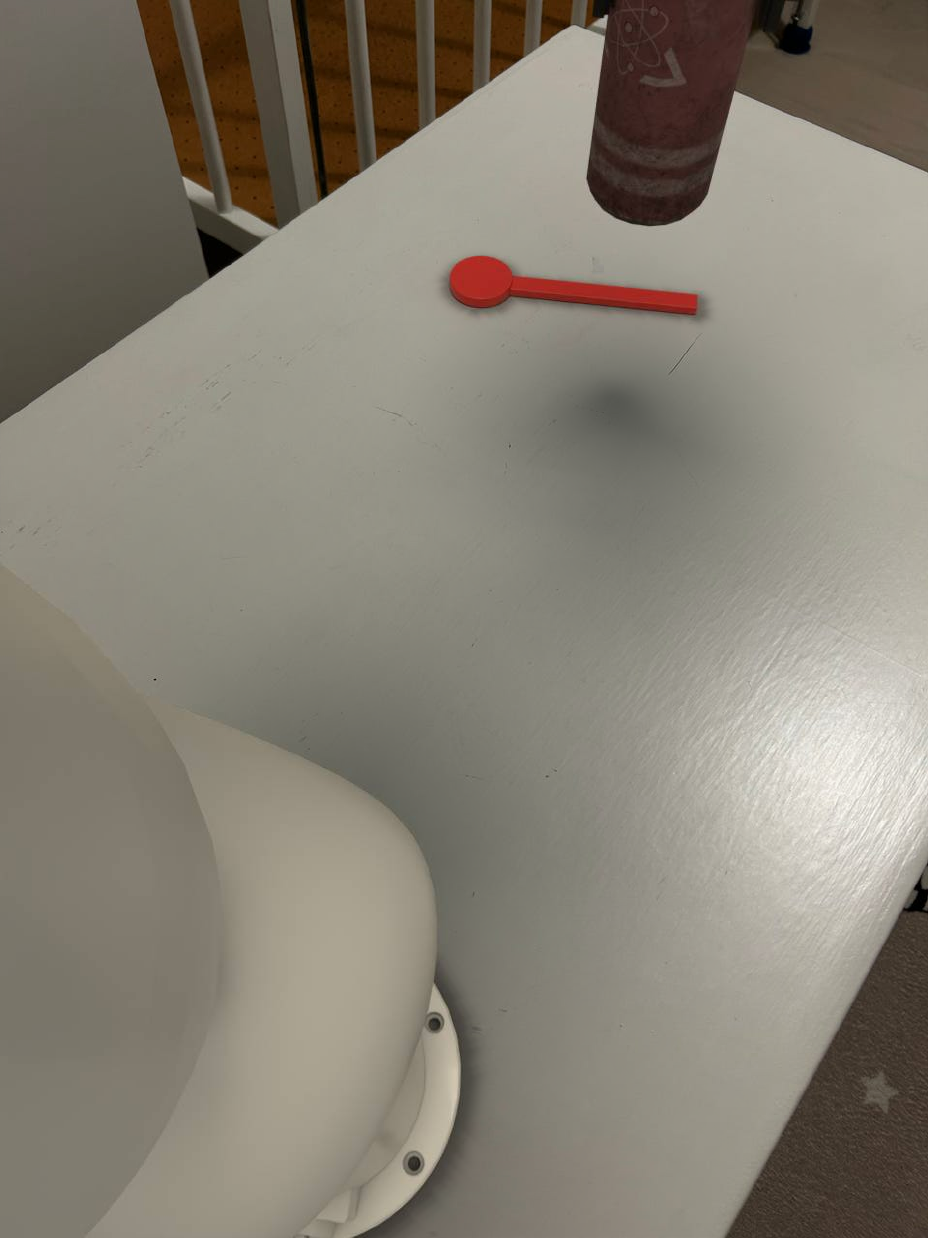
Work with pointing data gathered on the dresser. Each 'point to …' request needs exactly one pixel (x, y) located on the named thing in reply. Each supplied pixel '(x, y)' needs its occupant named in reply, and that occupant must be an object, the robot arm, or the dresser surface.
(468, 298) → the spoon
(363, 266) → the dresser surface
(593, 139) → the can
